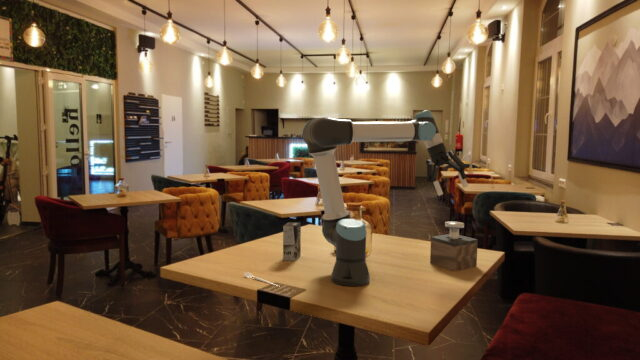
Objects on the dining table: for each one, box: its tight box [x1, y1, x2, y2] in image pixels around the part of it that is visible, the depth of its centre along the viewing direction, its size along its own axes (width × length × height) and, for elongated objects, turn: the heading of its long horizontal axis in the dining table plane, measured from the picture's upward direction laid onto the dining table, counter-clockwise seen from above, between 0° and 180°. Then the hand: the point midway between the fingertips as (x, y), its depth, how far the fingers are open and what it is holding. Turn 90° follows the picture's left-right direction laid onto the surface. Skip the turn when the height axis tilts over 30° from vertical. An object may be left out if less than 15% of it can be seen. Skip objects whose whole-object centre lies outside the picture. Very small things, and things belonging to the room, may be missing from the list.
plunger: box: [444, 220, 465, 240], centre depth 201 cm, size 8×8×13 cm
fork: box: [243, 271, 281, 288], centre depth 178 cm, size 3×20×2 cm, turn 49°
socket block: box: [429, 233, 479, 272], centre depth 201 cm, size 14×14×12 cm
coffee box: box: [282, 221, 302, 262], centre depth 210 cm, size 9×6×16 cm
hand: (453, 191), depth 195 cm, fingers open, 13 cm apart
